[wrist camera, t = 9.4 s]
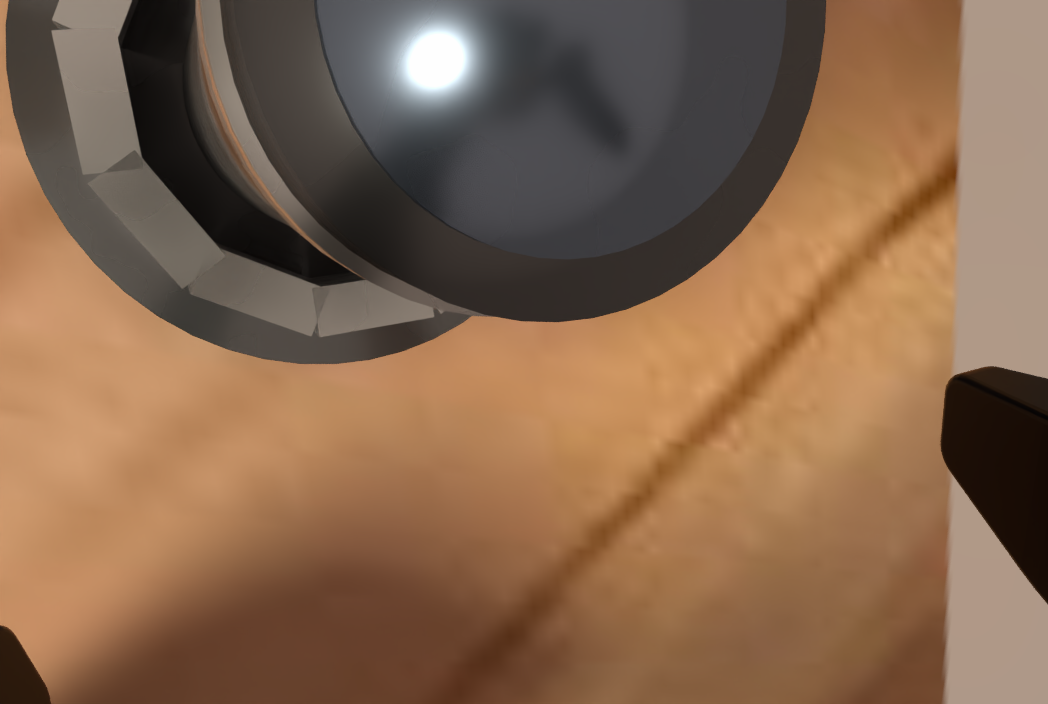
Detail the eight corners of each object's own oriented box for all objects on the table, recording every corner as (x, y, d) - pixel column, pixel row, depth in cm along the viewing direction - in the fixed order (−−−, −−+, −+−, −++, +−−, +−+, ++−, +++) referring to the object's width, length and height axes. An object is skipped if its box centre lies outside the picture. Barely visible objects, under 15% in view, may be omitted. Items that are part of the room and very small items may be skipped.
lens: (306, 294, 19) (506, 469, 8) (104, 50, 16) (15, -148, 6) (514, 129, 20) (930, 95, 9) (351, -122, 17) (661, -556, 7)
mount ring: (284, 461, 20) (297, 492, 18) (-149, -2, 15) (-190, -23, 13) (654, 154, 22) (699, 154, 20) (371, -334, 17) (397, -392, 15)
